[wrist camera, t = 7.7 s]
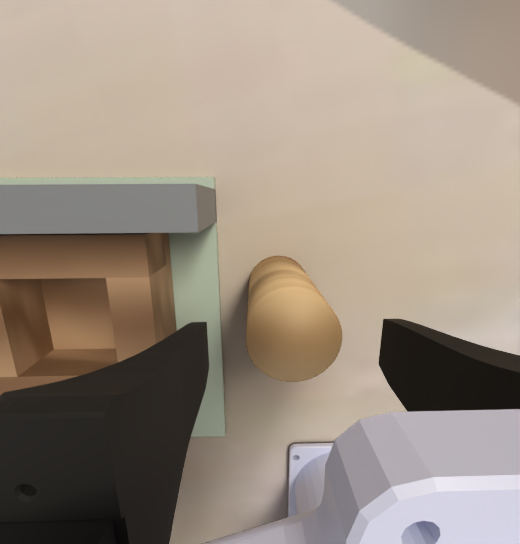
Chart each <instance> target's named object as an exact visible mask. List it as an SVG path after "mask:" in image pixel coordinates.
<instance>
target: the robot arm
mask: <svg viewBox="0 0 520 544" xmlns="http://www.w3.org/2000/svg"><path fill="white" fill-rule="evenodd" d="M379 366H380V368H381V370H382V372H383V374H384V376H385V378H386V380H387V382H388V384H389V385H390V387H391V388H392V390H393V391H394V393H395V394H396V396H397V397H398V398H399V400H400V401H401V403H402V404H403V406H404V407H405V408H406V410H407V411H408V412H389V413H385V414H381V415H377V416H373V417H369V418H365V419H361V420H358V421H357V422H356V423H355V424H354V425H352V426H351V427H350V428H349V429H347V430H346V431H345V432H344V433H342V434H341V435H340V436H339V437H337V438H336V439H335V441H334V443H306V444H293V445H291V446H290V449H289V489H288V517H287V518H284V519H281V520H277V521H274V522H271V523H268V524H264V525H261V526H258V527H255V528H251V529H248V530H245V531H242V532H238V533H235V534H232V535H228V536H225V537H222V538H219V539H215V540H212V541H209V542H206V543H202V544H520V356H519V355H515V354H511V353H507V352H503V351H499V350H495V349H491V348H488V347H484V346H481V345H478V344H475V343H471V342H468V341H465V340H462V339H459V338H456V337H453V336H450V335H447V334H445V333H442V332H439V331H436V330H433V329H431V328H428V327H425V326H422V325H419V324H416V323H413V322H410V321H406V320H402V319H383V328H382V337H381V347H380V356H379ZM208 372H209V354H208V336H207V322H191V323H189V324H187V325H185V326H184V327H182V328H180V329H179V330H177V331H176V332H174V333H173V334H171V335H170V336H168V337H166V338H165V339H163V340H162V341H160V342H158V343H156V344H155V345H153V346H151V347H149V348H148V349H146V350H144V351H142V352H140V353H138V354H136V355H134V356H132V357H130V358H127V359H125V360H123V361H121V362H118V363H115V364H113V365H110V366H107V367H104V368H102V369H99V370H96V371H93V372H90V373H87V374H84V375H80V376H77V377H73V378H69V379H66V380H62V381H58V382H54V383H49V384H44V385H39V386H34V387H29V388H24V389H19V390H14V391H8V392H4V393H2V394H1V395H0V544H169V541H170V535H171V530H172V524H173V518H174V513H175V508H176V502H177V497H178V492H179V487H180V481H181V476H182V472H183V467H184V462H185V457H186V452H187V448H188V444H189V441H190V437H191V434H192V431H193V428H194V425H195V421H196V418H197V415H198V412H199V409H200V406H201V402H202V399H203V396H204V393H205V389H206V384H207V378H208ZM295 455H298V456H295Z"/></svg>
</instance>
